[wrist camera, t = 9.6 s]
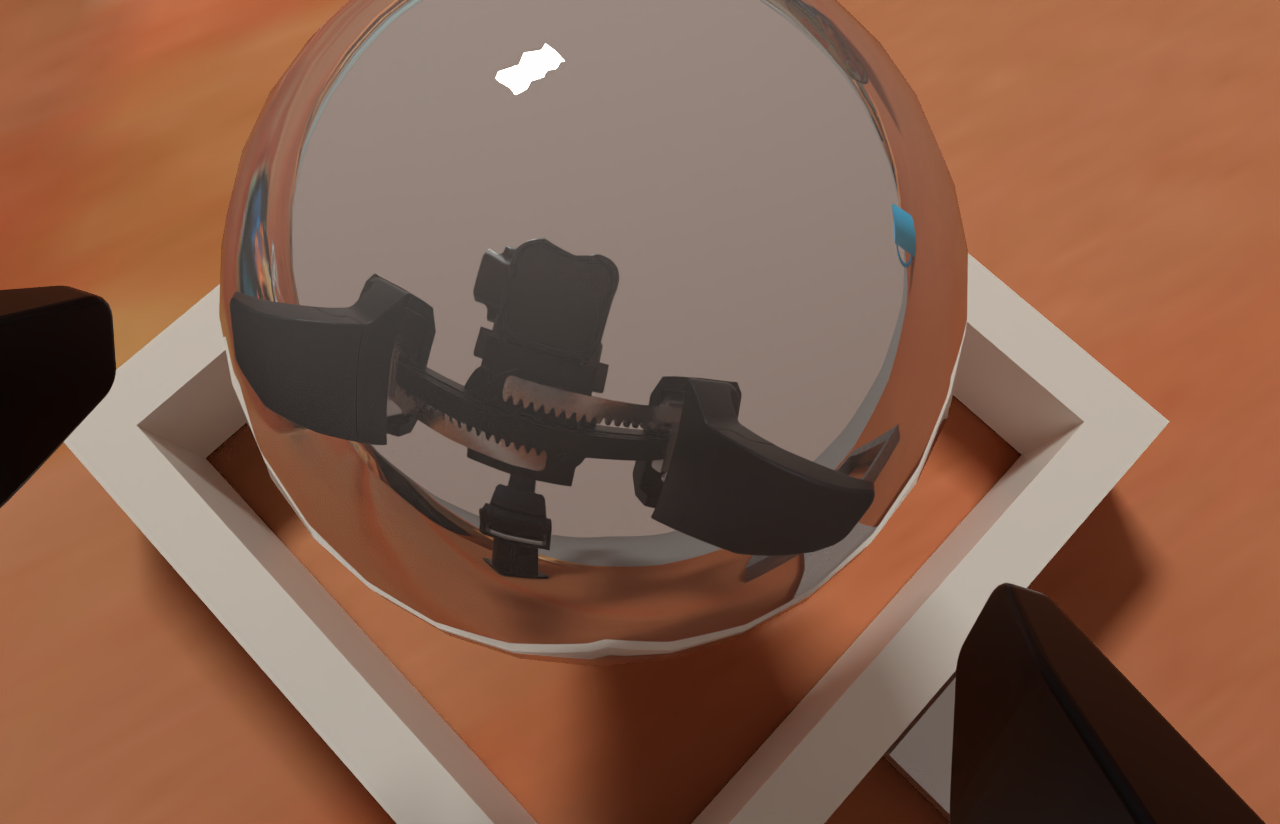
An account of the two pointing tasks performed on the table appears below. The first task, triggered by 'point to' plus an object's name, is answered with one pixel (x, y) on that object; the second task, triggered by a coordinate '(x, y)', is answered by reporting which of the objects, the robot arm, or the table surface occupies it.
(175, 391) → the collar
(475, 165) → the light bulb
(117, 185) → the table surface
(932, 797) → the rail strip
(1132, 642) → the table surface
